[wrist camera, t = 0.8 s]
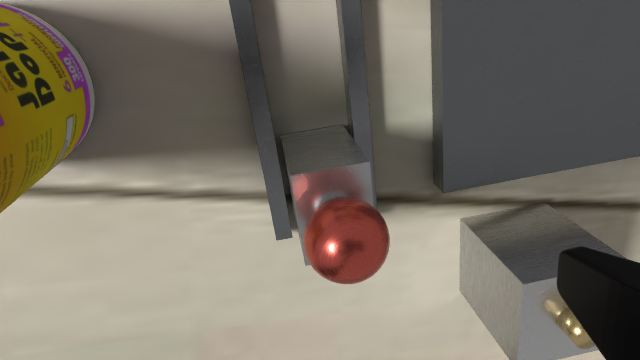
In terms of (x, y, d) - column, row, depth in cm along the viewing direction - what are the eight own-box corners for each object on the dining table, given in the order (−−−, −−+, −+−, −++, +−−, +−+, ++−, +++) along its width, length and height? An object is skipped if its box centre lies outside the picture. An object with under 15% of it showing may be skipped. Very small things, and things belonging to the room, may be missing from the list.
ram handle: (350, 198, 22) (404, 304, 14) (293, 209, 22) (317, 322, 14) (342, 124, 20) (398, 200, 13) (280, 135, 20) (300, 218, 13)
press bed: (674, 138, 24) (720, 153, 21) (433, 183, 22) (455, 204, 20) (746, -176, 18) (818, -201, 16) (428, -139, 17) (456, -160, 14)
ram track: (372, 211, 22) (386, 235, 20) (275, 230, 22) (278, 256, 20) (343, -129, 16) (358, -149, 14) (207, -114, 16) (200, -131, 14)
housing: (536, 273, 26) (633, 366, 20) (459, 290, 26) (531, 390, 19) (543, 202, 24) (654, 277, 18) (459, 218, 24) (541, 302, 17)
